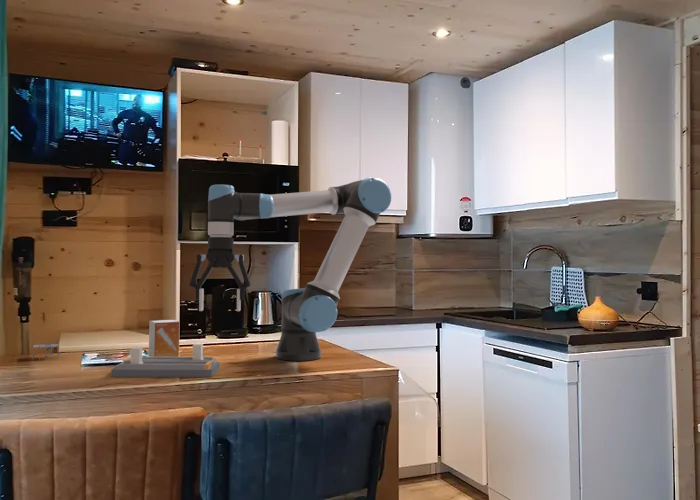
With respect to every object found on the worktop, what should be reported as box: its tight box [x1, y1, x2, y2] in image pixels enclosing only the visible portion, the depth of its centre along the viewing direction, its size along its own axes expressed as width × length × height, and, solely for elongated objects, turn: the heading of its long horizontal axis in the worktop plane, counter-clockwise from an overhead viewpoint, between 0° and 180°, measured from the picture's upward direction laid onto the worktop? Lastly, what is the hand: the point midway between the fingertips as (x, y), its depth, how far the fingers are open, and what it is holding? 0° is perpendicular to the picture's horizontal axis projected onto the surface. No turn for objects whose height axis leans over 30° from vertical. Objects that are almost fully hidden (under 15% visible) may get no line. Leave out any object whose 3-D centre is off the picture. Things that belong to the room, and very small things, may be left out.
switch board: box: [110, 356, 221, 378], centre depth 182 cm, size 28×13×4 cm, turn 92°
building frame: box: [31, 339, 60, 361], centre depth 203 cm, size 6×8×6 cm
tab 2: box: [192, 343, 204, 360], centre depth 185 cm, size 3×3×5 cm
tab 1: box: [130, 346, 143, 364], centre depth 178 cm, size 3×3×5 cm
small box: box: [148, 319, 180, 357], centre depth 200 cm, size 8×6×13 cm
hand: (220, 310), depth 186 cm, fingers open, 10 cm apart
